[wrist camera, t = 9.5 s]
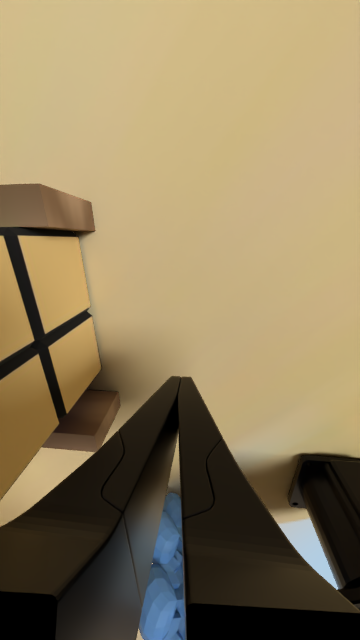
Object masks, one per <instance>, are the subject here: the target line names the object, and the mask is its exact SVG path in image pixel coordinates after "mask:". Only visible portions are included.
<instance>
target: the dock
mask: <svg viewBox="0 0 360 640" xmlns="http://www.w3.org/2000/svg"><path fill="white" fill-rule="evenodd" d="M0 227H16V228H31V229H46V230H60V231H95V226H94V219H93V212H92V205H91V202H89V201H86V200H83V199H81V198H78V197H75V196H72V195H69V194H67V193H64V192H61V191H58V190H55V189H53V188H50V187H47V186H44V185H41V184H11V185H0ZM119 408H120V400H119V393H118V392H113V391H97V390H85V391H84V393H83V394H82V395H81V396H80V398H79V399H78V400H77V402H76V403H75V404H74V406H73V407H72V408H71V410H70V411H69V412H68V414H67V415H66V416H65V417H64V418H58V421H59V425H58V426H57V427H56V429H55V430H54V431H53V433H52V434H51V435H50V437H49V438H48V439H47V440H46V442H45V443H44V444H43V446H42V447H44V448H55V449H67V450H78V451H89V452H97V451H98V450H99V449H100V447H101V445H102V443H103V441H104V439H105V437H106V435H107V433H108V431H109V429H110V427H111V425H112V423H113V420H114V418H115V416H116V414H117V412H118V410H119Z"/></svg>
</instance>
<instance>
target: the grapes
mask: <svg viewBox="0 0 360 640" xmlns="http://www.w3.org/2000/svg"><path fill="white" fill-rule="evenodd" d="M152 563H153V564H151V569H150V574H149V579H148V584H147V588H146V593H145V598H144V603H143V607H142V613H141V618H140V623H139V630H140V633H141V636H142V638H143V639H144V640H185V612H184V582H183V552H182V523H181V497H180V496H179V495H178V494H176V493H169V494H168V495H166V496H165V501H164V506H163V511H162V516H161V520H160V525H159V530H158V535H157V540H156V545H155V550H154V554H153V559H152Z"/></svg>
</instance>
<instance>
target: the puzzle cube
mask: <svg viewBox="0 0 360 640" xmlns="http://www.w3.org/2000/svg"><path fill="white" fill-rule="evenodd" d="M90 307H91V306H90V300H89V295H88V289H87V283H86V278H85V272H84V266H83V261H82V255H81V249H80V244H79V238H78V236H77V235H76V234H74V233H73V232H72V231H60V230H46V229H31V228H16V227H0V500H1V499H2V498H3V497H4V495H5V494H6V493H7V491H8V490H9V489H10V487H11V486H12V485H13V483H14V482H15V481H16V480H17V478H18V477H19V476H20V474H21V473H22V472H23V470H24V469H25V468H26V467H27V465H28V464H29V463H30V461H31V460H32V459H33V457H34V456H35V455H36V453H37V452H38V451H39V450H40V448H41V447H42V446H43V444H44V443H45V442H46V440H47V439H48V438H49V437H50V435H51V434H52V433H53V431H54V430H55V429H56V427H57V426H58V425H59V421H58V418H64V417H65V416H66V415H67V414H68V412H69V411H70V410H71V408H72V407H73V406H74V404H75V403H76V402H77V400H78V399H79V398H80V396H81V395H82V394H83V393H84V391H85V390H86V389H87V387H88V386H89V385H90V383H91V382H92V381H93V379H94V378H95V377H96V375H97V374H98V373H99V371H100V370H101V363H100V358H99V352H98V346H97V341H96V335H95V329H94V324H93V318H92V315H91V314H89V313H88V312H87V310H88V309H89V308H90Z"/></svg>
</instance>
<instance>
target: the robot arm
mask: <svg viewBox="0 0 360 640" xmlns="http://www.w3.org/2000/svg"><path fill="white" fill-rule="evenodd" d="M178 432H179V463H180V493H181V523H182V552H183V582H184V612H185V640H360V460H359V459H347V458H335V457H323V456H311V455H305V456H302V457H301V458H300V461H299V464H298V467H297V470H296V474H295V477H294V480H293V483H292V486H291V489H290V493H289V496H288V502H289V505H290V506H291V507H297V508H306V509H307V511H308V513H309V516H310V518H311V521H312V523H313V526H314V528H315V531H316V533H317V536H318V538H319V541H320V543H321V546H322V548H323V551H324V553H325V556H326V558H327V561H328V564H329V566H330V569H331V571H332V573H333V576H334V579H335V581H336V583H337V586H338V590H336V589H335V588H334V587H333V586H332V585H331V584H330V583H328V582H327V581H326V580H325V579H324V578H323V577H322V576H320V575H319V574H318V573H317V572H316V571H315V570H314V569H313V568H312V567H311V566H310V565H309V564H308V563H307V562H306V561H305V560H304V559H303V558H302V556H301V555H300V554H299V553H298V552H297V550H296V549H295V548H294V547H293V545H292V544H291V543H290V541H289V540H288V539H287V537H286V536H285V534H284V533H283V532H282V530H281V529H280V527H279V526H278V524H277V523H276V521H275V520H274V518H273V517H272V515H271V514H270V512H269V511H268V509H267V508H266V506H265V505H264V503H263V502H262V501H261V499H260V498H259V496H258V495H257V493H256V492H255V490H254V489H253V487H252V486H251V484H250V483H249V481H248V480H247V478H246V477H245V475H244V474H243V472H242V470H241V469H240V467H239V466H238V464H237V462H236V461H235V459H234V457H233V455H232V454H231V452H230V450H229V448H228V446H227V444H226V442H225V441H224V439H223V437H222V435H221V433H220V431H219V429H218V427H217V425H216V424H215V422H214V420H213V418H212V416H211V414H210V412H209V410H208V408H207V406H206V404H205V403H204V401H203V399H202V397H201V395H200V393H199V391H198V389H197V387H196V385H195V383H194V381H193V380H192V378H191V377H180V376H171V377H170V378H169V379H168V380H167V381H166V382H165V383H164V384H163V385H162V386H161V387H160V388H159V389H158V390H157V391H156V392H155V393H154V394H153V395H152V396H151V397H150V398H149V399H148V400H147V401H146V402H145V403H144V405H143V406H142V407H141V408H140V409H139V410H138V411H137V412H136V413H135V414H134V415H133V416H132V417H131V418H130V419H129V420H128V421H127V422H126V423H125V424H124V425H123V426H122V427H121V428H120V429H119V432H118V431H117V432H116V433H115V434H114V435H113V436H112V437H111V438H110V439H109V440H108V441H107V442H106V443H105V444H104V445H103V446H102V447H101V448H100V449H99V450H98V451H97V452H95V453H94V454H93V455H92V456H91V457H90V458H89V459H88V460H86V461H85V462H84V463H83V464H82V465H81V466H80V467H78V468H77V469H76V470H75V471H74V472H73V473H71V474H70V475H69V476H68V477H67V478H66V479H64V480H63V481H62V482H61V483H60V484H59V485H57V486H56V487H55V488H54V489H53V490H51V491H50V492H49V493H48V494H47V495H46V496H44V497H43V498H42V499H41V500H40V501H39V502H37V503H36V504H35V505H34V506H32V507H31V508H30V509H29V510H27V511H26V512H24V513H23V514H22V515H20V516H19V517H17V518H15V519H14V520H12V521H11V522H9V523H7V524H5V525H3V526H1V527H0V640H136V637H137V632H138V628H139V623H140V618H141V613H142V607H143V603H144V598H145V593H146V588H147V584H148V579H149V574H150V569H151V564H152V559H153V554H154V550H155V545H156V540H157V535H158V530H159V525H160V520H161V516H162V511H163V506H164V501H165V496H166V491H167V486H168V482H169V477H170V472H171V467H172V462H173V457H174V452H175V448H176V443H177V437H178Z"/></svg>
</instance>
